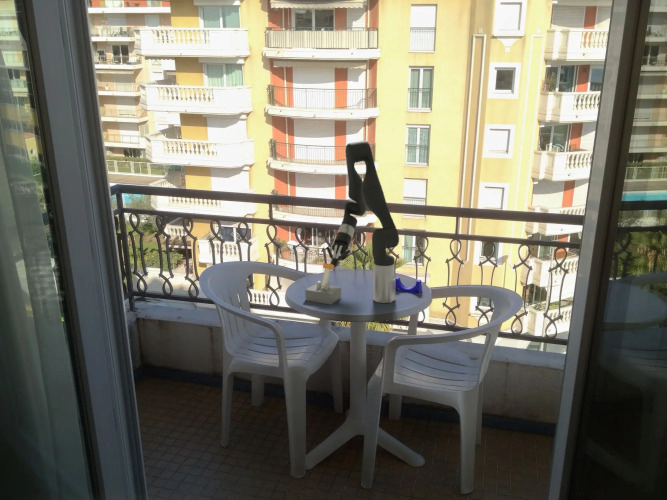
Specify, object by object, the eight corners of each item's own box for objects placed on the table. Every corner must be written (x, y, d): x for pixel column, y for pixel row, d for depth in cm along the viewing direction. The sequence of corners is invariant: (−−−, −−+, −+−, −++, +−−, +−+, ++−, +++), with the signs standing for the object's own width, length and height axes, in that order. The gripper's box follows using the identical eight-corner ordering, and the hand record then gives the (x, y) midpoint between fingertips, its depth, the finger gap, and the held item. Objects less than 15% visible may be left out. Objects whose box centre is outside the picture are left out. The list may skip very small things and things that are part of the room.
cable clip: (421, 291, 282) (422, 279, 280) (419, 293, 278) (419, 281, 276) (397, 288, 286) (398, 276, 285) (394, 290, 282) (395, 278, 281)
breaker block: (341, 298, 272) (341, 281, 270) (331, 304, 263) (331, 287, 261) (316, 294, 277) (315, 277, 275) (305, 300, 269) (305, 283, 267)
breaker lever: (329, 287, 269) (334, 265, 272) (327, 286, 267) (332, 264, 270) (320, 286, 271) (325, 264, 274) (318, 285, 269) (323, 263, 271)
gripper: (329, 230, 283) (317, 260, 276) (354, 232, 277) (343, 264, 270) (334, 238, 289) (323, 269, 281) (359, 241, 283) (348, 272, 276)
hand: (333, 266), depth 276 cm, fingers closed
